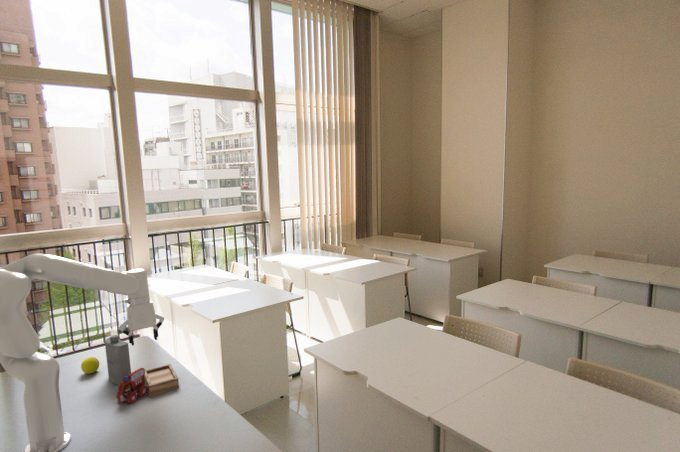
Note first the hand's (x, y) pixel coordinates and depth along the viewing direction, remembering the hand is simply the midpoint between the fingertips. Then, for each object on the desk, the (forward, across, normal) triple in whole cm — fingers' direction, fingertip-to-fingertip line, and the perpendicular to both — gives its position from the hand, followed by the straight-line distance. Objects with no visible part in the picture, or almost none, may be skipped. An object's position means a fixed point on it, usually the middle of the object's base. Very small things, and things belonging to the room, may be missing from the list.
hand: (144, 341), depth 170 cm
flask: (+21, -10, +17) cm, 29 cm away
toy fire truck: (+21, -7, -3) cm, 22 cm away
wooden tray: (+21, +5, +2) cm, 22 cm away
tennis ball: (+21, -20, +33) cm, 44 cm away
